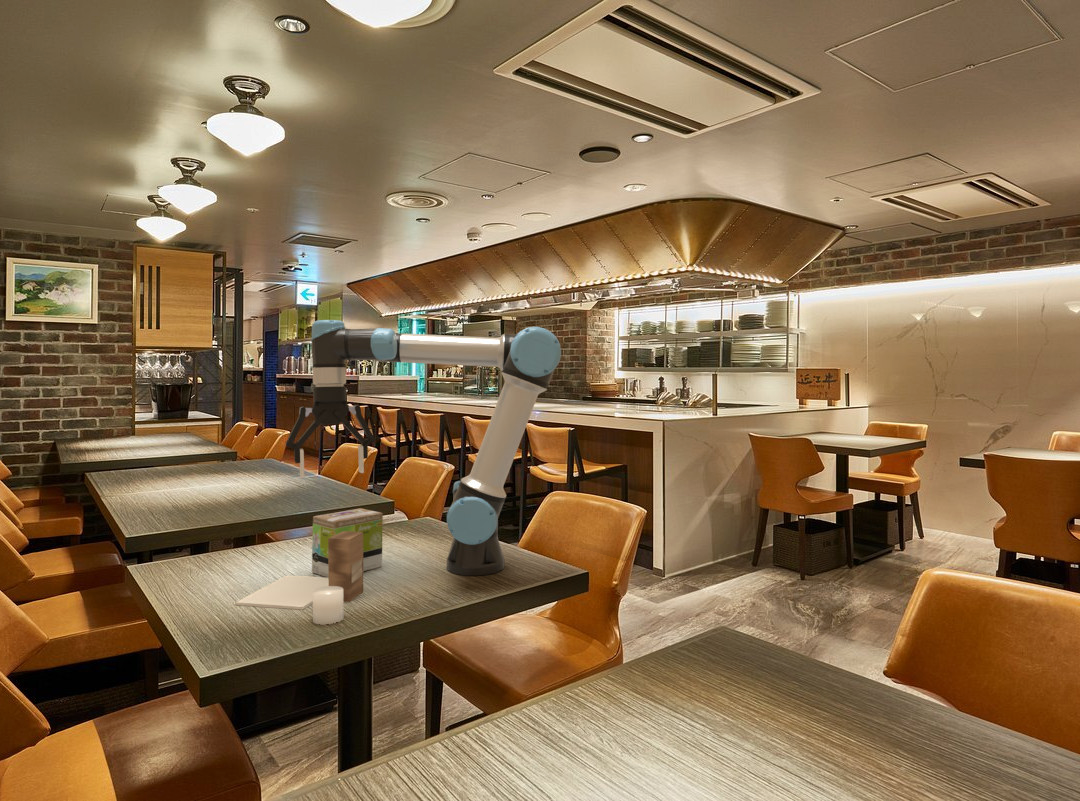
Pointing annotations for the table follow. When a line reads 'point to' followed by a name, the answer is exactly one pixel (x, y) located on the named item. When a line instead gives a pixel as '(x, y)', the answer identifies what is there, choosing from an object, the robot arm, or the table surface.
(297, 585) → the felt mat
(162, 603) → the table surface
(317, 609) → the white pillar candle
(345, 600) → the wooden block
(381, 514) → the tea box
